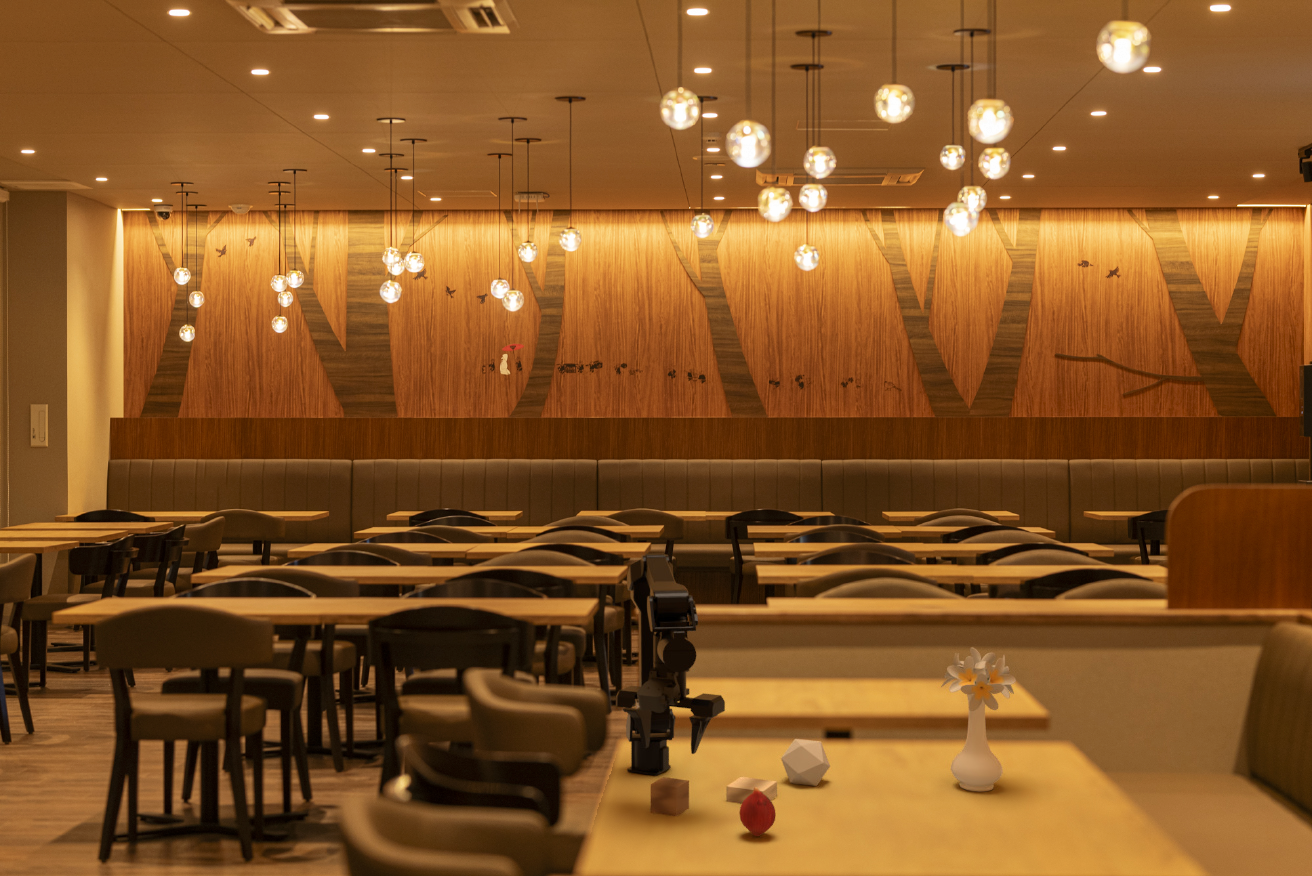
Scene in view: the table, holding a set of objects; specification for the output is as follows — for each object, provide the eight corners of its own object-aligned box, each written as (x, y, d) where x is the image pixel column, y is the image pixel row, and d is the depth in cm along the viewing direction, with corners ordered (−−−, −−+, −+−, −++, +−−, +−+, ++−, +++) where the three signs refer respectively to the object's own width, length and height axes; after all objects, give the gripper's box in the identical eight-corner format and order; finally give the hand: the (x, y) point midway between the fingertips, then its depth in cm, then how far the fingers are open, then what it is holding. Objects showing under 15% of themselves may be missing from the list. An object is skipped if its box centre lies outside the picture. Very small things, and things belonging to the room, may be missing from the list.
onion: (779, 832, 213) (779, 784, 212) (770, 843, 207) (770, 794, 207) (744, 829, 215) (744, 781, 214) (735, 839, 209) (735, 790, 209)
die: (835, 783, 244) (814, 736, 248) (837, 771, 236) (815, 724, 241) (796, 800, 243) (775, 753, 248) (796, 789, 236) (775, 740, 240)
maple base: (726, 803, 230) (726, 786, 230) (741, 792, 237) (741, 776, 237) (763, 808, 227) (763, 791, 227) (777, 797, 234) (777, 781, 233)
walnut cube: (650, 812, 224) (650, 784, 224) (663, 805, 228) (663, 777, 228) (676, 816, 221) (676, 787, 221) (689, 809, 226) (688, 780, 226)
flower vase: (958, 803, 229) (958, 663, 228) (932, 774, 247) (932, 644, 247) (1030, 802, 229) (1031, 662, 229) (999, 774, 248) (999, 644, 247)
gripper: (600, 664, 222) (600, 754, 222) (698, 674, 213) (698, 768, 213) (631, 653, 232) (631, 740, 232) (726, 662, 223) (726, 752, 223)
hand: (669, 750), depth 225 cm, fingers open, 9 cm apart
